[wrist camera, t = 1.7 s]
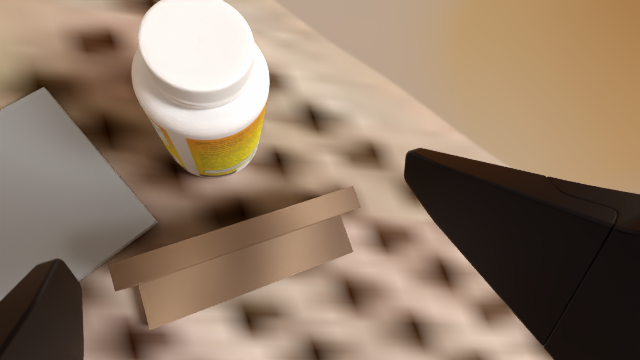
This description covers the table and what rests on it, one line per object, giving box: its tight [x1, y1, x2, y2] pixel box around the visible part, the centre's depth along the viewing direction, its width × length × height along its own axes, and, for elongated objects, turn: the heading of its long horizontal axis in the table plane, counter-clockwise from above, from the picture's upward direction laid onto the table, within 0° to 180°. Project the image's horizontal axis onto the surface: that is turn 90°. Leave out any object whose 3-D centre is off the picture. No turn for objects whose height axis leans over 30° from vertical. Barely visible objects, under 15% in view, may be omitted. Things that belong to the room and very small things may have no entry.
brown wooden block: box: [108, 186, 360, 330], centre depth 19 cm, size 12×4×4 cm, turn 110°
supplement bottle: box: [131, 0, 269, 178], centre depth 17 cm, size 6×6×10 cm
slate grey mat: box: [0, 87, 158, 301], centre depth 18 cm, size 10×10×1 cm
